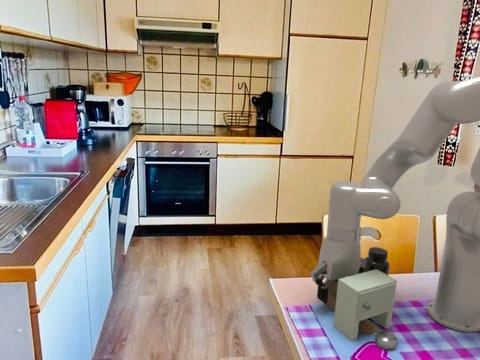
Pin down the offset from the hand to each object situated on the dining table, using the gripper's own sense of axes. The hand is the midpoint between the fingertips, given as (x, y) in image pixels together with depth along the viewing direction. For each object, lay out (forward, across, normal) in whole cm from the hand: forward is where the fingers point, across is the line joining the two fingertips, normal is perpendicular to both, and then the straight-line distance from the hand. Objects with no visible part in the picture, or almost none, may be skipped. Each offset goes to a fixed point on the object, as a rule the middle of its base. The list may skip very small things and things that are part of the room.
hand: (337, 296), depth 99 cm
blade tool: (+3, 0, +5) cm, 6 cm away
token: (+3, 0, +16) cm, 17 cm away
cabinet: (+3, 0, +9) cm, 10 cm away
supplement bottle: (+3, -15, -2) cm, 15 cm away
